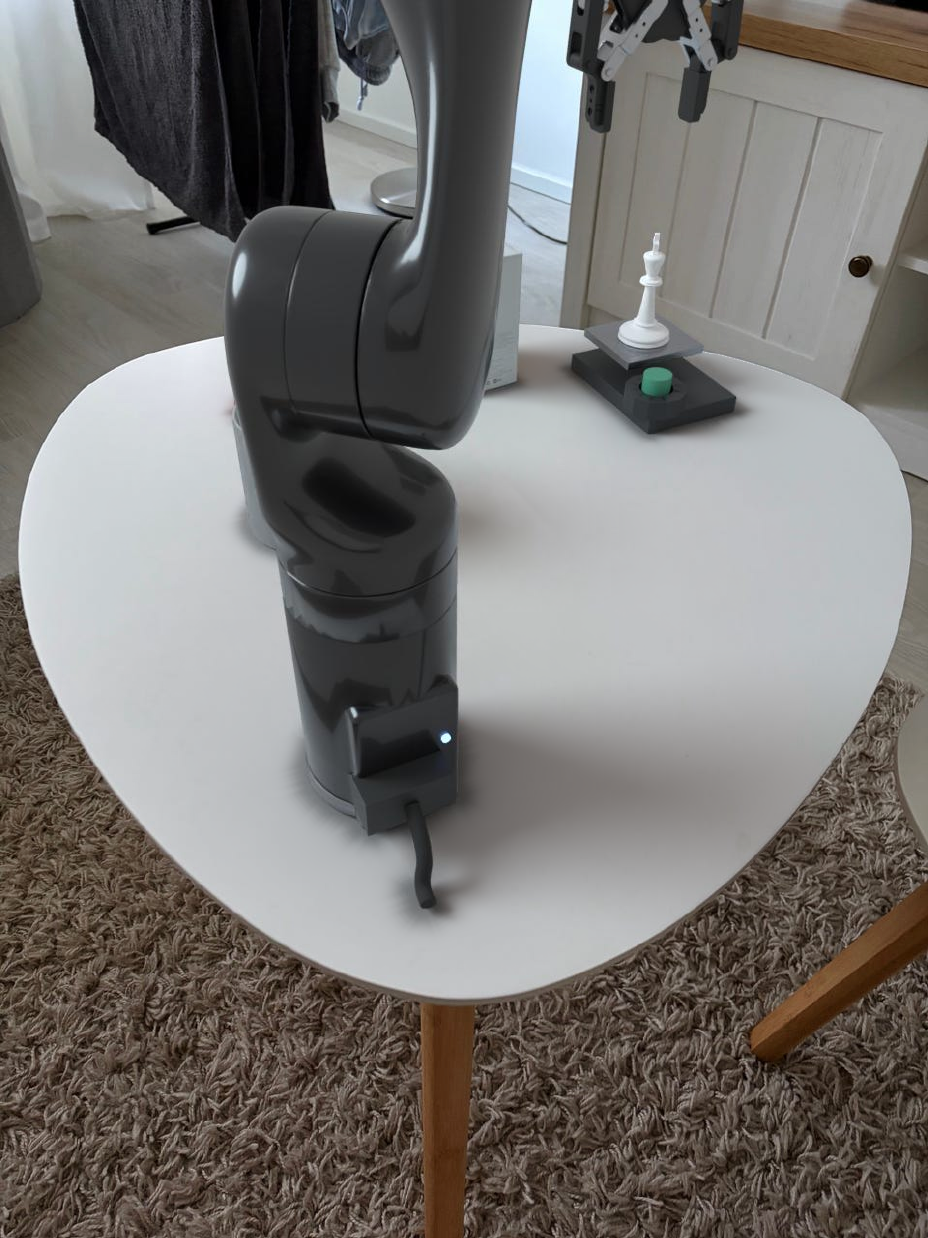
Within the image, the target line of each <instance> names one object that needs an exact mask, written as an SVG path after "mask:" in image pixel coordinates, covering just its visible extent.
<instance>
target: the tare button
mask: <svg viewBox="0 0 928 1238" xmlns="http://www.w3.org/2000/svg"><path fill="white" fill-rule="evenodd" d="M671 382H672V373H671V372H670V371H669V370H667V369H664V368H659V367H653V368H648V369H646V370H645V371H644V373H643V381H642V388H641V391H642V392H643V393H645V394H648V395H651V396H665V395H669V393H670V388H671Z"/></svg>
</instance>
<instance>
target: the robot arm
mask: <svg viewBox="0 0 928 1238" xmlns="http://www.w3.org/2000/svg"><path fill="white" fill-rule="evenodd" d="M610 1H611V2H612V5H613V7H614V9H615V10H614V11H613V13H612V14H611V16H610V18H609V19H608V21H607V22H606V24H605V25H604V28H603V29H602V24H603V23H602V22H603V16H604V13H605V12H606V11H607V10H608V9H609V7H610V5H609V4H610ZM707 1H708V0H572V5H571V15H570V24H569V31H568V39H567V48H566V57H565V63H566V64H567V66H568V67H570V68H572V69H574V70H577V71H579V72H582V73H583V74H585V76H586V78H587V84H586V85H587V86H586V97H585V98H586V99H585V108H584V117H585V122H587V123H588V124H589V128H590V129H591V130H593V131H594V132H597V133H598V134H606V133H607V134H608V133H610V132H611V129H612V122H613V112H614V103H615V92H616V84H617V83H616V81H615V80H613V79H614V78H615V76H616V75H617V73H618V71H619V70H620V69H621V66H622V65H623V63H624V62H625V60H626V59H627V58H628V57H630V56H632V55H633V54H634V53H635V52H636V51H637V49H638V48H639V46H640V44H641V43H643V44H653V43H654V44H655V43H657V42H659V41H661V40H665V41H670V42H677V43H678V44H679V45H680V48H681V49H682V52H683V55H684V57H685V59H686V61H687V63H688V64H689V66H687V67H683V74H682V79H681V87H680V93H679V102H678V107H677V108H678V109H677V116H678V118H679V120H682V121H684V122H686V123H689V124H693V123H698V122H700V120H701V118H702V117H701V116H702V115H703V114H704V112H705V110H706V107H707V102H708V97H709V90H710V84H711V77H712V72H713V70H715V69H716V67H717V65H718V64H721V63H722V62H724V61H726V60H727V61H732V60H734V59H735V58H736V56H737V54H738V50H739V43H740V35H741V29H742V19H743V11H744V4H745V0H710V1H711V6H710V15H709V16H710V17H709V24H708V23H707V20H706V18H705V16H704V13H703V11H702V9H703V7H704V6H705V4H706V2H707ZM379 4H380V6H381V8H382V11H383V13H384V16H385V18H386V21H387V23H388V26H389V29H390V31H391V33H392V36H393V39H394V42H395V44H396V48H397V50H398V53H399V57H400V60H401V62H402V66H403V69H404V74H405V78H406V81H407V84H408V89H409V92H410V93H409V94H410V96H411V100H412V101H411V102H412V106H413V107H412V108H413V112H414V121H415V129H416V132H415V133H416V145H417V146H416V147H417V148H416V149H417V150H416V151H417V157H416V158H417V172H416V173H417V175H416V176H417V177H416V178H417V179H416V194H415V202H414V203H415V204H414V211H413V216H412V219H409V218H404V217H395V216H390V215H389V216H388V215H381V214H372V213H363V212H357V211H356V212H354V211H348V210H347V211H346V210H341V209H340V210H339V209H337V210H336V209H330V208H324V207H323V208H321V207H312V206H302V205H279V206H278V205H277V206H273V207H270V208H267V209H264V210H262V211H260V212H259V213H257V214H256V215H255V216H254V217H253V218H252V219H250V220H249V222H247V223H246V224H245V226H244V227H243V229H242V230H241V232H240V234H239V236H238V237H237V239H236V241H235V243H234V245H233V248H232V251H231V252H230V253H231V254H230V257H229V260H228V265H227V270H226V275H225V279H224V286H223V300H222V331H223V342H224V349H225V351H224V352H225V357H226V365H227V371H228V377H229V381H230V387H231V391H232V396H233V402H234V401H235V406H236V410H237V414H238V419H239V423H240V427H241V431H242V436H243V440H244V444H245V448H246V453H247V457H248V462H249V466H250V471H251V475H252V480H253V485H254V491H255V495H256V500H257V504H258V508H259V511H260V514H261V516H262V519H263V521H264V523H265V525H266V526H267V528H268V529H269V531H270V532H271V533H272V535H273V536H274V540H275V547H276V550H275V553H276V560H277V566H278V572H279V579H280V586H281V593H282V602H283V608H284V615H285V622H286V628H287V635H288V641H289V648H290V649H289V650H290V655H291V660H292V669H293V675H294V681H295V688H296V695H297V701H298V708H299V714H300V721H301V727H302V732H303V739H304V745H305V763H306V769H307V774H308V779H309V781H310V784H311V785H312V787H313V789H314V791H315V792H316V793H317V795H318V796H319V797H320V798H321V799H322V800H323V801H324V802H325V803H327V804H328V805H329V806H331V807H332V808H334V809H336V810H337V811H339V812H342V813H344V814H346V815H348V816H352V817H354V818H356V820H357V821H358V823H359V825H360V827H361V828H362V829H363V830H365V832H366V835H367V836H368V837H371V836H373V835H376V834H378V833H381V832H384V831H386V830H389V829H393V828H394V827H397V826H399V825H402V824H405V823H407V824H408V827H409V832H410V834H411V838H412V842H413V847H414V855H415V869H414V875H413V883H414V892H415V895H416V899H417V901H418V904H419V906H420V908H421V909H422V910H428V909H431V908H433V907H435V906H436V905H437V898H436V896H435V893H434V891H433V888H432V887H433V886H432V874H433V868H434V855H433V847H432V843H431V838H430V837H431V836H430V834H429V830H428V827H427V823H426V820H425V817H424V816H425V815H429V814H430V813H434V812H436V811H439V810H441V809H444V808H447V807H449V806H452V805H454V804H456V796H457V795H459V706H460V705H459V704H460V703H459V701H460V700H459V695H460V691H459V689H460V688H459V686H458V583H459V582H458V581H459V580H458V578H459V576H458V575H459V574H458V573H459V572H458V571H459V566H458V565H459V541H458V540H459V511H458V509H459V508H458V501H457V497H456V493H455V491H454V489H453V487H452V485H451V483H450V481H449V480H448V478H447V477H446V476H445V475H444V473H443V472H442V471H441V470H440V469H439V468H438V467H436V466H435V464H433V463H432V462H430V460H428V459H426V458H425V457H423V456H422V455H420V454H418V453H417V452H415V451H413V450H412V449H418V450H426V451H427V450H428V451H444V450H449V449H451V448H453V447H455V446H456V445H458V444H459V443H460V442H462V441H463V439H464V438H465V437H466V436H467V434H468V433H469V431H470V429H471V428H472V426H473V425H474V422H475V420H476V418H477V416H478V413H479V411H480V408H481V404H482V401H483V399H484V396H485V392H486V390H485V388H486V384H487V379H488V375H489V370H490V366H491V360H492V354H493V348H494V342H495V333H496V324H497V315H498V306H499V297H500V288H501V277H502V266H503V255H504V244H505V243H506V232H507V222H508V211H509V210H508V209H509V199H510V188H511V178H512V176H511V175H512V167H513V155H514V144H515V134H516V125H517V124H516V122H517V113H518V103H519V102H518V101H519V95H520V88H521V87H520V86H521V79H522V71H523V62H524V58H525V57H524V55H525V49H526V43H527V36H528V30H529V29H528V28H529V25H530V24H529V23H530V16H531V11H532V4H533V0H379ZM623 31H625V32H624V33H623V34H622V32H623ZM410 448H411V449H410Z"/></svg>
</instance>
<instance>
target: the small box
mask: <svg viewBox="0 0 928 1238" xmlns="http://www.w3.org/2000/svg"><path fill="white" fill-rule="evenodd" d="M522 265H523V253H522V252H521V251H519V250H518V249H516V248H514V247H513V246H511V245H510V244H508V243H507V242H505V244H504V255H503V266H502V277H501V288H500V297H499V306H498V315H497V324H496V333H495V342H494V348H493V354H492V360H491V366H490V370H489V375H488V379H487V384H486V388H485V391H488V390H492V389H496V388H499V387H503V386H507V385H510V384H513V383H515V382H517V381H518V365H519V341H520V339H519V337H520V320H521V319H520V317H521V316H520V315H521V295H522V267H523V266H522Z"/></svg>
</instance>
